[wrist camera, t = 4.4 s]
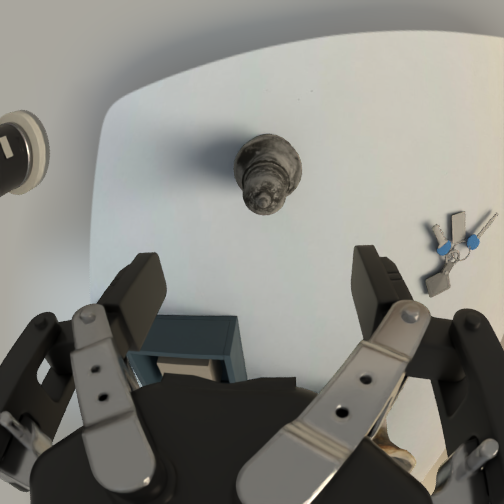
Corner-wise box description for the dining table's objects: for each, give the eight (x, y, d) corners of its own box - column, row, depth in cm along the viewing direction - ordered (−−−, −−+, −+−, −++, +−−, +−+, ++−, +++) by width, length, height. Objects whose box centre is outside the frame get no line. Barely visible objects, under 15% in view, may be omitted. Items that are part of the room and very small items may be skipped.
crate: (166, 375, 47) (155, 408, 41) (140, 314, 41) (122, 348, 35) (247, 379, 46) (243, 415, 40) (237, 315, 39) (230, 355, 33)
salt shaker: (297, 191, 30) (307, 250, 20) (238, 188, 31) (216, 245, 20) (301, 132, 27) (315, 160, 17) (238, 130, 28) (213, 156, 17)
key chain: (438, 299, 35) (440, 303, 35) (394, 279, 34) (396, 283, 34) (496, 212, 29) (500, 215, 28) (456, 180, 28) (459, 182, 27)
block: (178, 368, 45) (170, 393, 40) (166, 336, 41) (156, 362, 37) (222, 370, 44) (217, 397, 39) (215, 338, 40) (208, 366, 36)
